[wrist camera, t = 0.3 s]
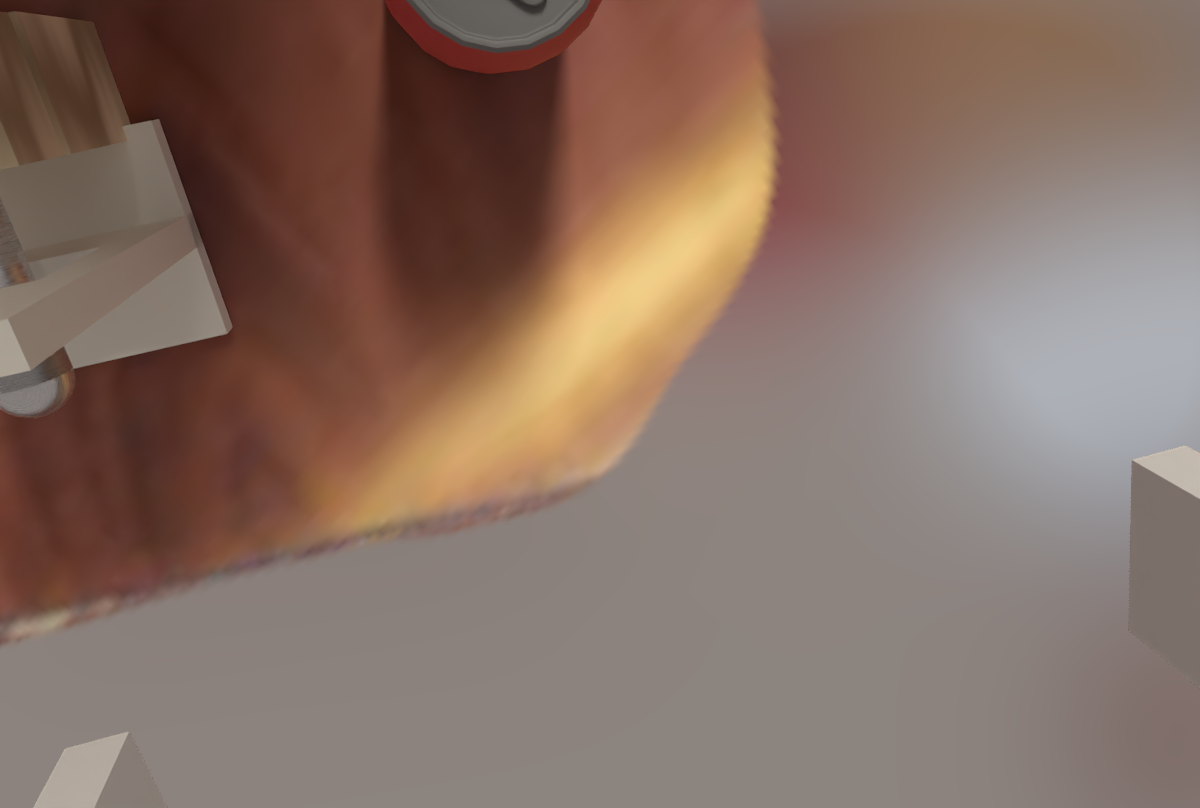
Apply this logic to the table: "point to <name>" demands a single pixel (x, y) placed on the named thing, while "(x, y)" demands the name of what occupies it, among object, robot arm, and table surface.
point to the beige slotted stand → (106, 257)
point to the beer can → (493, 30)
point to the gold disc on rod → (54, 376)
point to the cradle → (54, 89)
